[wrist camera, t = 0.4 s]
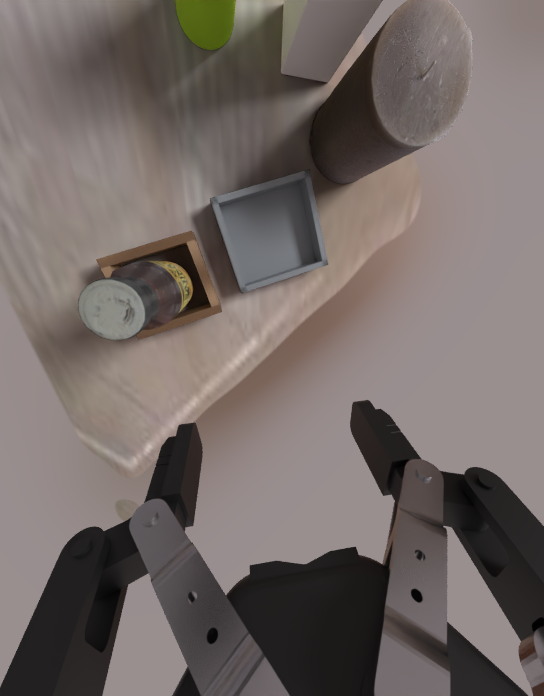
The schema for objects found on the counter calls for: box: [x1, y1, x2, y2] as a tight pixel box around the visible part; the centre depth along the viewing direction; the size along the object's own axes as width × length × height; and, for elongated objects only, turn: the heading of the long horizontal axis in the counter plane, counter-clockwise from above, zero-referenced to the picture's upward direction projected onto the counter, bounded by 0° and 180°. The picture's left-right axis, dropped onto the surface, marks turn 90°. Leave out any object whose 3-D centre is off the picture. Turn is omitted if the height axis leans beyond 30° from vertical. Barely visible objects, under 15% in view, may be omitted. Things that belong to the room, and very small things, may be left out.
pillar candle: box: [310, 0, 473, 184], centre depth 27 cm, size 10×10×15 cm
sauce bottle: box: [78, 261, 193, 340], centre depth 26 cm, size 6×6×20 cm
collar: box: [96, 231, 222, 340], centre depth 33 cm, size 10×11×4 cm
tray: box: [210, 169, 328, 293], centre depth 34 cm, size 11×12×3 cm
